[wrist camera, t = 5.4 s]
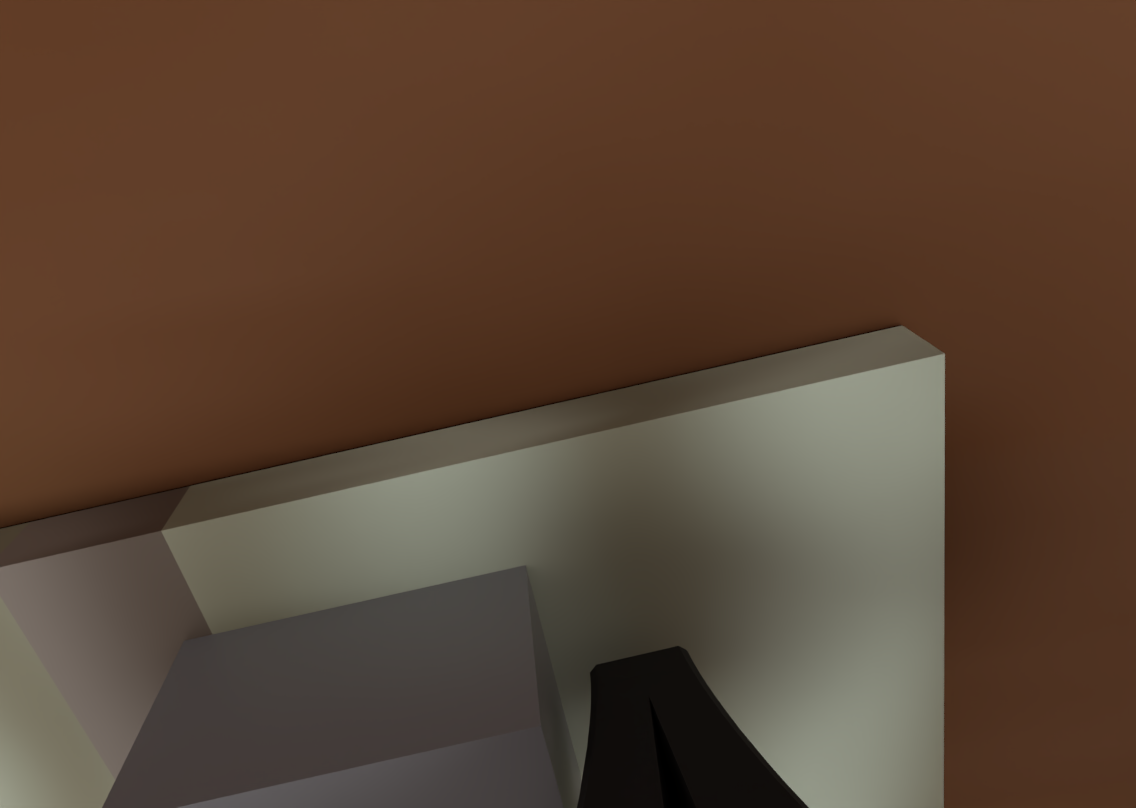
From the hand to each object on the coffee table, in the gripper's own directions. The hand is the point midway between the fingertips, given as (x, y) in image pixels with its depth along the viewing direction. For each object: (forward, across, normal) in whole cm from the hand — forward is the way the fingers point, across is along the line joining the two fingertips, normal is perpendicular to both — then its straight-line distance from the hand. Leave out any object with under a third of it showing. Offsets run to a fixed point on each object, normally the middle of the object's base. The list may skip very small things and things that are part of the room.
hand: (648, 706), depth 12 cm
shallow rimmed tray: (+2, +3, +6) cm, 7 cm away
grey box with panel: (+1, +4, 0) cm, 4 cm away
